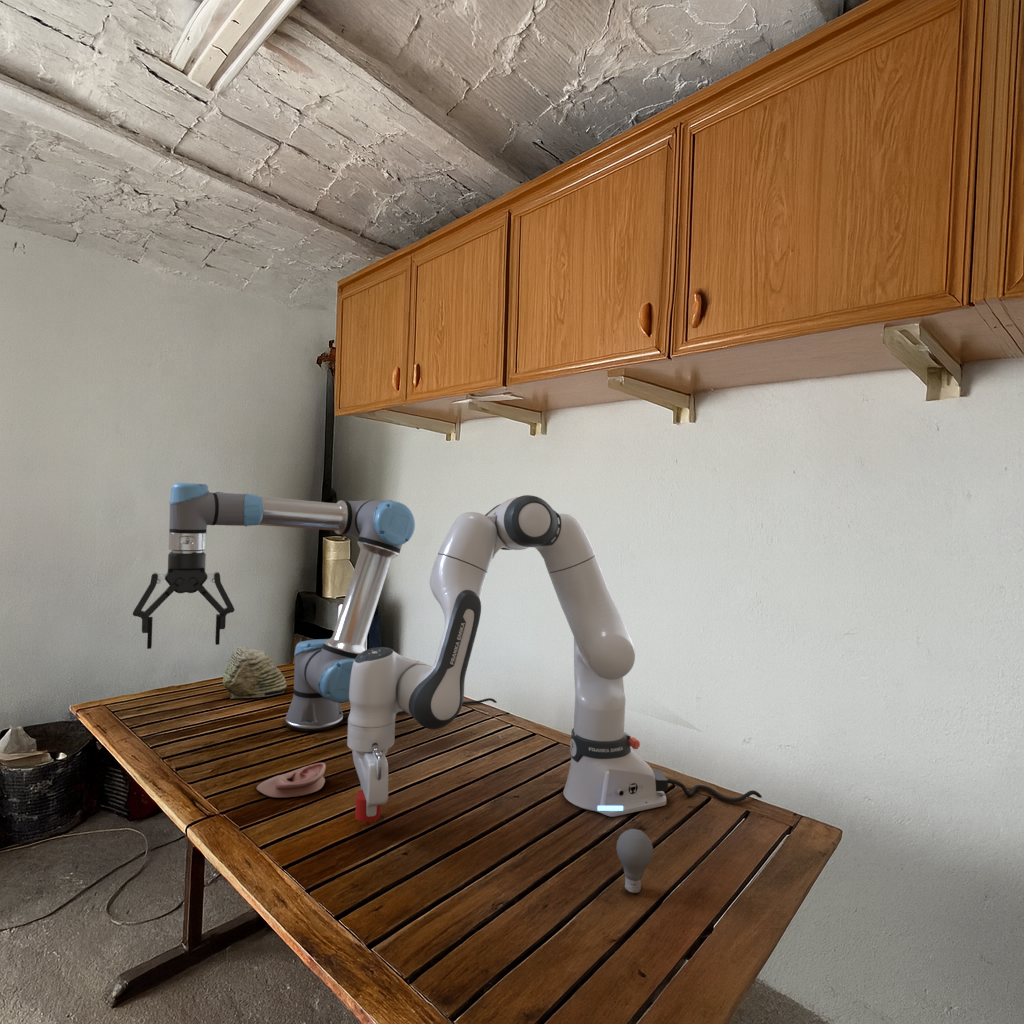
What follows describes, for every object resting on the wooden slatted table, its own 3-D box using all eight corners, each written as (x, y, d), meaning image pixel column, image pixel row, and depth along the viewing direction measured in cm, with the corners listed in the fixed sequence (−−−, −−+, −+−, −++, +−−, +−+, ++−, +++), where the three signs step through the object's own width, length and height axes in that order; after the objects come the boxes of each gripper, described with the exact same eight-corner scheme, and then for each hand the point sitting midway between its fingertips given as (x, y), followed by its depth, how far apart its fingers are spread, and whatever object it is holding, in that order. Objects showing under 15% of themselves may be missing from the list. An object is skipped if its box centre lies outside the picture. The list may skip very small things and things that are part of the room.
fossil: (218, 695, 195) (220, 647, 195) (278, 685, 208) (279, 640, 207) (228, 703, 189) (230, 653, 188) (289, 692, 201) (290, 645, 201)
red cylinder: (353, 822, 118) (354, 800, 118) (356, 809, 123) (357, 788, 123) (379, 822, 119) (380, 799, 119) (381, 809, 123) (382, 788, 123)
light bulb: (610, 879, 108) (613, 822, 108) (644, 879, 109) (647, 822, 109) (619, 902, 102) (622, 840, 102) (655, 901, 103) (658, 840, 103)
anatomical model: (248, 775, 133) (279, 754, 144) (247, 794, 133) (278, 771, 144) (306, 783, 130) (332, 761, 142) (305, 802, 130) (332, 779, 142)
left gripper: (120, 553, 133) (117, 653, 134) (248, 553, 145) (245, 645, 145) (123, 549, 140) (120, 645, 140) (245, 550, 151) (242, 638, 152)
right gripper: (398, 754, 112) (395, 831, 112) (379, 715, 131) (376, 782, 131) (362, 758, 110) (359, 837, 110) (347, 718, 129) (345, 785, 129)
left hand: (184, 645), depth 143 cm, fingers open, 13 cm apart
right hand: (368, 806), depth 121 cm, fingers closed on red cylinder, 5 cm apart
